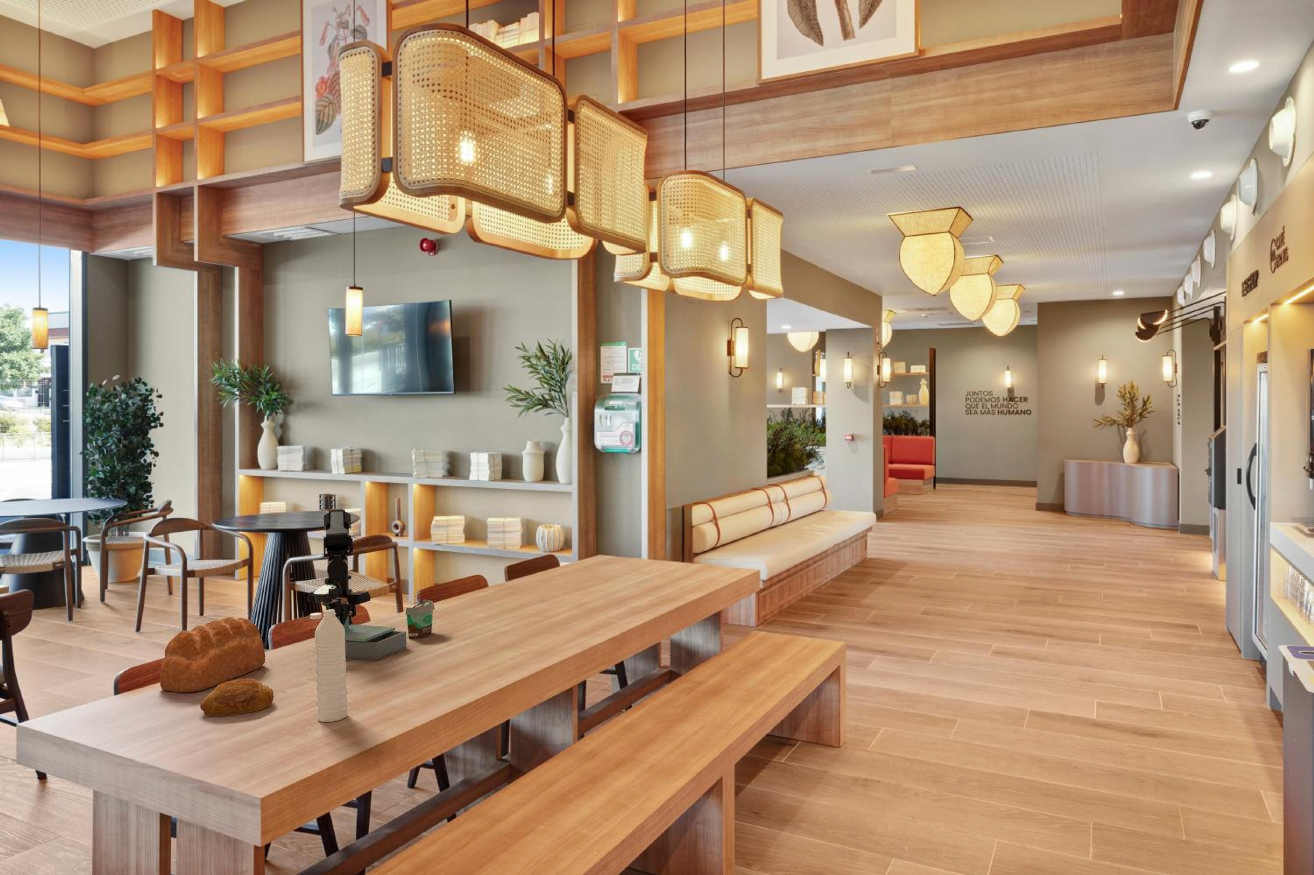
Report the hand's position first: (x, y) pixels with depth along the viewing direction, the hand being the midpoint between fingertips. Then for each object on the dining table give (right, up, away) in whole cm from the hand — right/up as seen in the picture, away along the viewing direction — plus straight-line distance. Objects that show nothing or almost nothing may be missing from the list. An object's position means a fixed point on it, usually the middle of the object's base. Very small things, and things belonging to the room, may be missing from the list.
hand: (339, 625), depth 253 cm
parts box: (+10, -7, -3) cm, 13 cm away
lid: (+6, -2, -2) cm, 7 cm away
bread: (-24, -9, -25) cm, 36 cm away
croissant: (-5, -9, -50) cm, 51 cm away
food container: (+21, -7, +16) cm, 27 cm away
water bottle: (+20, -8, -60) cm, 64 cm away
